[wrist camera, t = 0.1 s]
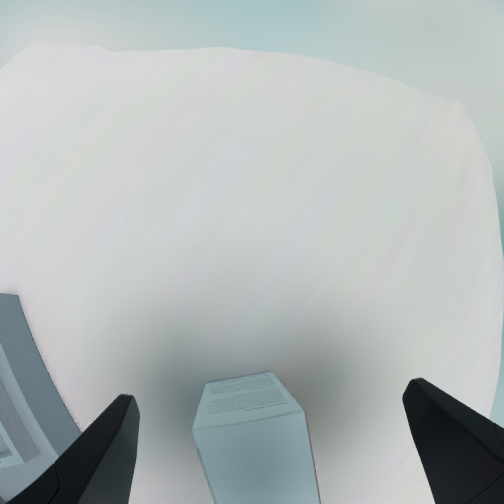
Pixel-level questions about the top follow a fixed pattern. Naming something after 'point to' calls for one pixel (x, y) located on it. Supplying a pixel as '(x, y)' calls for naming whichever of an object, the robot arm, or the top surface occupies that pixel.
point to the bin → (30, 400)
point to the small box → (255, 443)
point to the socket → (14, 434)
